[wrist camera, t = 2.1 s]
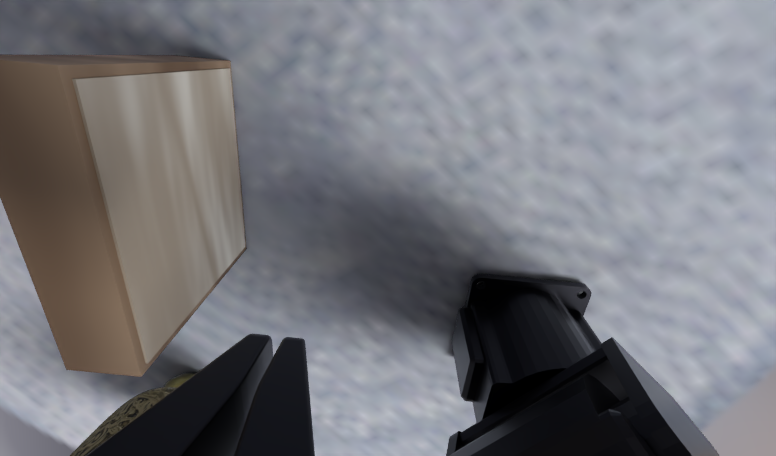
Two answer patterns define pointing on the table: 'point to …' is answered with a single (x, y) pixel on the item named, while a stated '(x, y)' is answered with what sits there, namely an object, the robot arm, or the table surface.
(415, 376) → the table surface
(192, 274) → the wooden block
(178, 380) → the cup
